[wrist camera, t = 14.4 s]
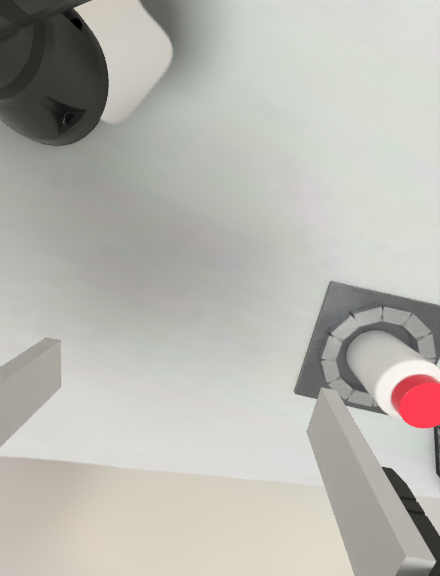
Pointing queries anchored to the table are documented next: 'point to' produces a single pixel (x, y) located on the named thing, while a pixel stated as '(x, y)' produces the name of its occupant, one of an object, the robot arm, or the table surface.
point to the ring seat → (354, 321)
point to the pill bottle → (397, 377)
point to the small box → (437, 448)
